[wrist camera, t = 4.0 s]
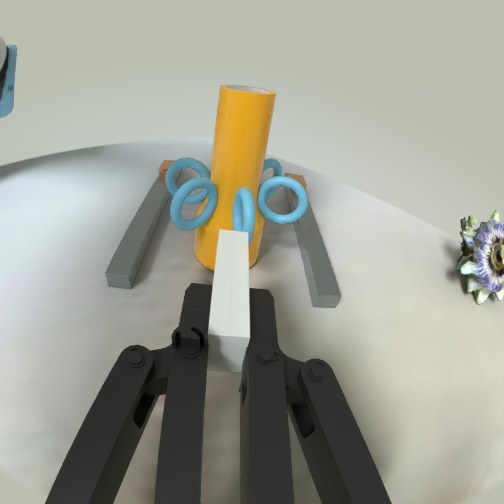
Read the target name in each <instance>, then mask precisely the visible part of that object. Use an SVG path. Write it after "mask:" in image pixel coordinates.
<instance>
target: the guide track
mask: <svg viewBox="0 0 504 504" xmlns="http://www.w3.org/2000/svg"><path fill="white" fill-rule="evenodd" d="M173 162H175V161H171V160H164V162H163V163H162V165H161V166H160V168H159V176H158V178H157V179H156V181H155V183H154V184H153V186H152V188H151V189H150V191H149V193H148V194H147V196H146V198H145V199H144V201H143V203H142V204H141V206H140V208H139V210H138V211H137V213H136V215H135V217H134V219H133V220H132V222H131V224H130V226H129V228H128V229H127V231H126V233H125V235H124V237H123V239H122V241H121V243H120V245H119V247H118V248H117V250H116V252H115V254H114V256H113V258H112V260H111V262H110V264H109V266H108V268H107V271H106V277H107V281H108V285H109V286H111V287H118V288H125V289H131V287H132V284H133V282H134V279H135V276H136V274H137V271H138V269H139V266H140V263H141V261H142V258H143V256H144V253H145V251H146V248H147V246H148V244H149V241H150V239H151V236H152V234H153V232H154V229H155V227H156V225H157V222H158V220H159V218H160V216H161V213H162V211H163V209H164V207H165V204H166V202H167V200H168V198H169V196H170V194H171V193H170V192H169V190H168V188H167V185H166V172H167V170H168V168H169V166H170V165H171V164H172V163H173ZM181 170H182V168H180V169H179V170H178V171H177V172H176V173H175V177H174V181H175V183H176V181H177V179H178V177H179V175H180V173H181ZM284 177H289V178H292V179H294V180H296V181H297V182H299V183H300V184H301V185H302V186H303V188H304V189H306V182H305V180H304V178H303V176H302V175H296V174H289V173H285V175H284ZM284 187H285V186H284ZM285 191H286V195H287V199H288V203H289V206H290V210H291V213H292V212H293V211H295V210H296V208H297V206H298V203H299V200H298V196H297V194H296V193H295V192H294V191H293V190H292V189H290V188H288V187H285ZM294 226H295V230H296V234H297V238H298V243H299V247H300V251H301V255H302V259H303V264H304V268H305V272H306V277H307V281H308V286H309V290H310V295H311V299H312V304H313V307H327V308H335V307H336V305H337V303H338V301H339V299H340V297H341V294H340V291H339V288H338V284H337V281H336V278H335V275H334V272H333V269H332V266H331V263H330V260H329V257H328V254H327V251H326V248H325V245H324V243H323V240H322V237H321V234H320V231H319V228H318V226H317V223H316V220H315V217H314V215H313V212H312V209H311V207H310V204H309V201H308V206H307V209H306V212H305V213H304V215H303V216H302V217H301V218H300V219H298V220H297V221H295V222H294Z"/></svg>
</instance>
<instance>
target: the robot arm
mask: <svg viewBox="0 0 504 504" xmlns="http://www.w3.org/2000/svg"><path fill="white" fill-rule="evenodd" d="M16 56H17V47H16V45H7V46H6V45H5V42H4V40H3V39H2V38H1V37H0V118H2V117H4V116H7V115H8V114H10V112H11V111H12V109H13V104H14V81H15V67H16ZM207 370H210V371H221V372H235V373H241V371H242V381H241V384H240V388H239V392H240V476H241V504H294V495H293V480H292V465H291V451H290V438H289V425H288V413H287V409H288V412H289V415H290V418H291V420H292V423H293V426H294V429H295V432H296V434H297V437H298V440H299V443H300V445H301V448H302V451H303V453H304V456H305V459H306V462H307V464H308V467H309V470H310V472H311V475H312V478H313V480H314V483H315V486H316V488H317V491H318V494H319V496H320V499H321V502H322V504H392V503H391V501H390V499H389V496H388V494H387V491H386V489H385V487H384V484H383V482H382V480H381V477H380V475H379V473H378V470H377V468H376V466H375V463H374V461H373V459H372V457H371V454H370V452H369V450H368V447H367V445H366V443H365V441H364V438H363V436H362V434H361V432H360V429H359V427H358V425H357V423H356V420H355V418H354V416H353V414H352V412H351V409H350V407H349V405H348V403H347V401H346V398H345V396H344V394H343V392H342V390H341V387H340V385H339V383H338V381H337V379H336V377H335V374H334V372H333V370H332V368H331V367H330V366H329V364H327V363H326V362H325V361H323V360H320V359H310V360H308V361H306V362H305V363H304V362H301V361H298V360H294V359H292V358H289V357H288V356H286V355H285V354H284V353H283V352H282V351H281V350H280V348H279V346H278V340H277V329H276V319H275V309H274V298H273V297H272V295H271V293H270V292H269V290H266V289H255V288H249V253H248V232H239V231H230V230H221V229H219V237H218V245H217V254H216V262H215V271H214V280H213V285H206V284H197V283H191V284H190V286H189V287H188V288H187V289H186V291H185V296H184V302H183V306H182V312H181V317H180V323H179V327H177V328H176V329H175V330H174V332H173V334H172V344H171V345H170V346H168V347H166V348H162V349H157V350H151V351H149V349H147V348H146V347H144V346H140V345H133V346H129V347H127V348H125V349H124V350H123V351H122V353H121V354H120V356H119V357H118V359H117V361H116V363H115V364H114V366H113V368H112V370H111V372H110V373H109V375H108V377H107V379H106V381H105V382H104V384H103V386H102V388H101V390H100V391H99V393H98V395H97V397H96V399H95V401H94V403H93V404H92V406H91V408H90V410H89V412H88V414H87V416H86V418H85V420H84V422H83V424H82V426H81V428H80V429H79V431H78V433H77V435H76V437H75V439H74V441H73V444H72V446H71V448H70V450H69V452H68V454H67V456H66V458H65V460H64V462H63V464H62V466H61V469H60V471H59V473H58V475H57V477H56V480H55V482H54V484H53V486H52V489H51V491H50V493H49V495H48V498H47V500H46V503H45V504H113V503H114V500H115V498H116V495H117V493H118V490H119V488H120V486H121V483H122V481H123V478H124V476H125V473H126V471H127V469H128V466H129V464H130V462H131V459H132V457H133V455H134V452H135V450H136V447H137V445H138V443H139V440H140V438H141V436H142V434H143V431H144V429H145V427H146V424H147V422H148V420H149V417H150V415H151V413H152V411H153V408H154V406H155V404H156V402H157V399H158V397H159V395H164V394H166V397H165V404H164V412H163V420H162V428H161V436H160V445H159V455H158V465H157V477H156V489H155V503H154V504H200V499H201V468H202V445H203V426H204V408H205V393H206V376H207Z"/></svg>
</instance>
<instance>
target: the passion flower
mask: <svg viewBox="0 0 504 504" xmlns="http://www.w3.org/2000/svg"><path fill="white" fill-rule="evenodd" d="M471 224H478V222H477V221H476V219H474V217H473V216H469V217H468V221H466V218H465V217H464V219H461V228H462V231H461V232H460V234H461V236H462V238H463V242H462V243H461V245H462V247H461V250H462V251H461V253H460V256H459V260H458V262H459V261H460V260H461V258H462V256H468V255H469V254H473V255H472V256H471V257H469V258H465V259H463V260H461V261H460V262H459V263H458V264H457V272H459V273H461V274H469V275H468V278H467V281H466V292H467V294H468V293H471V292H472V291H474V293H475V300H476V303H477V304H478V305H479V304H482V303H483V302H484V301H485V300H486V298H487V297H488V295H489V294H490V293H492V292H494V293H495V296H496V298H497V299H498V300H499V301H500V300H501V299H502V297H503V295H504V224H503V225H501V224H500V222H499V214H498V212H497V211H496V210H495V211H494V213H493V214H492V216H491V218H490V220H489V221H488V222H487V223H486V222H481V224H480V227H479V228H478V229H476V230H472V225H471ZM467 225H468V226H469V229H468V230H467V229H466V228H465V227H466V226H467Z"/></svg>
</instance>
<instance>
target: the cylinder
mask: <svg viewBox="0 0 504 504" xmlns="http://www.w3.org/2000/svg"><path fill="white" fill-rule="evenodd" d="M275 97H276V93H275V92H273V91H269V90H266V89H261V88H255V87H249V86H239V85H222V86H220V94H219V101H218V109H217V118H216V127H215V135H214V145H213V154H212V164H211V174H210V172H209V170H208V169H207V168H206V166H205V165H203V164H202V163H201V162H199V161H197V160H195V159H191V158H182V159H179V160H176V161H175V162H173V163H172V164H171V165H170V166H169V168H168V170H167V172H166V185H167V188H168V190H169V192H170V193H171V195H172V196H173V197H174V198H173V200H172V203H171V208H170V215H171V219H172V222H173V223H174V225H175V226H176V227H178V228H179V229H181V230H193V229H195V245H194V251H195V255H196V257H197V259H198V261H199V262H200V263H201V264H202V265H203V266H205V267H206V268H208V269H211V270H213V271H215V262H216V254H217V245H218V237H219V229H221V230H230V231H239V232H248V253H249V268H250V267H252V266H253V265H254V263H255V262H256V260H257V258H258V254H259V249H260V244H261V239H262V234H263V229H264V223H265V220H264V217H265V218H266V219H268V220H269V221H271V222H274V223H278V224H289V223H292V222H295V221H297V220H298V219H300V218H301V217H302V216H303V215H304V213H305V212H306V209H307V206H308V196H307V193H306V191H305V189H304V188H303V186H302V185H301V184H300V183H299V182H297V181H296V180H294V179H292V178H289V177H284V176H282V168H281V165H280V163H279V162H278V161H276V160H275V159H267V160H264V159H265V153H266V147H267V142H268V136H269V130H270V125H271V119H272V114H273V108H274V102H275ZM183 167H189V168H192V169H194V170H196V171H197V172H198V173H199V174H200V175H201V177H197V178H193V179H191V180H189V181H187V182H186V183H184V184H183V185H182V186H181V187H180V188H179V189H178V188H177V186H176V184H175V181H174V177H175V173H176V172H177V171H178V170H179V169H180V168H183ZM270 167H272V168H273V170H274V175H273V178H270V179H268V180H266V181H265V182H264V183H262V184H261V186H260V182H261V176H262V173H263V172H264V171H265V170H266V169H268V168H270ZM278 186H285V187H288V188H290V189H292V190H293V191H294V192H295V193H296V194H297V196H298V200H299V203H298V206H297V208H296V210H295V211H293V212H292V213H290V214H287V215H279V214H276V213H274V212H272V211H271V210H270V209H269V208H268V207H267V205H266V202H265V200H267V199H268V198H270V197H271V196H272V195H273V194H274V192H275V191H276V189H277V188H278ZM197 188H203V189H202V190H201V192H200V193H199V194H197V195H192V196H191V195H189V194H190V193H191V192H192V191H193V190H195V189H197ZM202 201H203V202H202ZM200 202H202V204H201V205H200V207H199V208H198V210H197V213H196V218H194V219H192V220H184V219H183V218H182V216H181V207H182V204H183V203H186V204H198V203H200Z"/></svg>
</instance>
